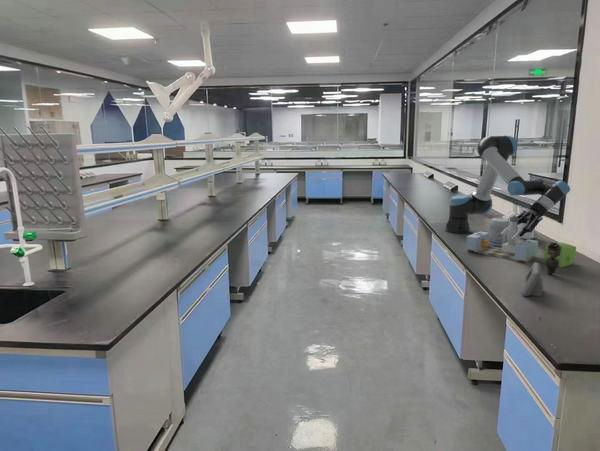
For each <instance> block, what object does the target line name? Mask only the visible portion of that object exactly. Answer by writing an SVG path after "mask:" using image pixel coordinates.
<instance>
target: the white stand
mask: <svg viewBox="0 0 600 451" xmlns="http://www.w3.org/2000/svg"><path fill="white" fill-rule="evenodd" d="M517 216H518V215H512V216H510V217H509V222H510V223H509V234H508V236H507V243H504V244H502V246H501V248H502V249H501V251H504V252H509V253H514V254H515V247H516V245H517V244H518V243H517V244H516V242H515V241H514V240H513V239H512V237H513V236H514V235H515V234H517V231H518V225H517V224H518V217H517Z"/></svg>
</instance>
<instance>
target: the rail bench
mask: <svg viewBox="0 0 600 451" xmlns="http://www.w3.org/2000/svg"><path fill="white" fill-rule="evenodd" d="M501 249H502V247H498V246H493V245H491V246H490V245H489V246H487V247H485V246H484V247H480V248H479V249H477V250H470V249H467V251H468V250H470V251H469V252H472V251H474V253H477V252H478V254H482V253H483V255H486V256H492V257H497V258H502V259H506V260H512V261H516V262H521V263H526V264H527V263H528V262H530V261H532V260H534V259H536V255H534V256H533V257H531V258H529V259H527V260H525V261H523V260H518V259H514V256H515V254H514V253H509V252H504V251H501Z"/></svg>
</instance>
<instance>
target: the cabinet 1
mask: <svg viewBox="0 0 600 451" xmlns="http://www.w3.org/2000/svg"><path fill="white" fill-rule="evenodd" d="M482 239H484V240H489V232H488V231H476V232H473V233H472V234H469V235H467V236H466V244H465V249H467V250H468V249H470V250H477V249H479V248H480V247H484V246H481V240H482Z"/></svg>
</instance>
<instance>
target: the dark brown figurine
mask: <svg viewBox="0 0 600 451" xmlns="http://www.w3.org/2000/svg"><path fill="white" fill-rule="evenodd" d="M549 244H550V245H549ZM549 244H547V245H548V246H547V247H548V249H547V250H548V252H547V253H548V254H549V255H550V258H547V259H546V263H545V266H546V268H547V272H546V273H547V274H548V275H550V276H551V275H552V274H555V273H556V272H555V271H556V269H557V268H559V267H558V266H559V260H558V259H556V257H558V256H559V255H560V252H561V249H562V247H561V246H560V245H559V244H557V242H549Z"/></svg>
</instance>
